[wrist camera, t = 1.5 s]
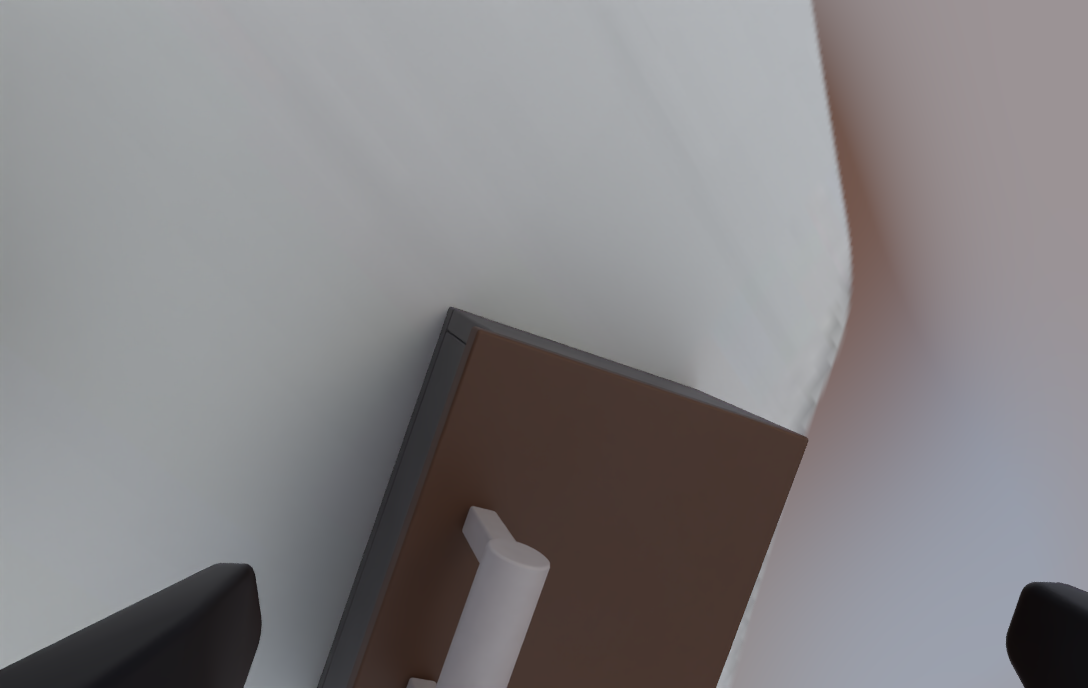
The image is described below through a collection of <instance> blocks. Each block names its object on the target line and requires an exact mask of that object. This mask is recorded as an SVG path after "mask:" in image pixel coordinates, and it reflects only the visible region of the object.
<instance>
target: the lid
mask: <svg viewBox="0 0 1088 688" xmlns="http://www.w3.org/2000/svg"><path fill="white" fill-rule="evenodd" d="M807 443H808V438H807V437H805V436H802V435H800V434H798V433H796V432H793V431H790V430H787V429H784V428H781V427H778V426H775V425H772V424H769V423H766V422H763V421H760V420H757V419H754V418H751V417H748V416H745V415H742V414H739V413H736V412H733V411H730V410H727V409H724V408H721V407H717V406H714V405H711V404H708V403H705V402H702V401H699V400H696V399H693V398H690V397H687V396H684V395H681V394H678V393H675V392H672V391H669V390H666V389H663V388H660V387H657V386H654V385H651V384H648V383H645V382H642V381H639V380H636V379H633V378H630V377H627V376H624V375H621V374H618V373H615V372H612V371H609V370H606V369H603V368H600V367H597V366H594V365H591V364H588V363H585V362H582V361H579V360H576V359H573V358H570V357H567V356H564V355H561V354H558V353H555V352H552V351H549V350H546V349H543V348H540V347H537V346H534V345H531V344H528V343H525V342H522V341H519V340H516V339H513V338H510V337H507V336H504V335H501V334H498V333H495V332H492V331H489V330H485V329H482V328H479V327H476V326H474V327H472V329H471V331H470V334H469V337H468V340H467V343H466V346H465V349H464V352H463V354H462V357H461V360H460V363H459V366H458V369H457V372H456V374H455V377H454V380H453V383H452V386H451V389H450V392H449V394H448V397H447V400H446V403H445V406H444V409H443V412H442V415H441V417H440V420H439V423H438V426H437V429H436V432H435V435H434V437H433V440H432V443H431V446H430V449H429V452H428V455H427V457H426V460H425V463H424V466H423V469H422V472H421V475H420V478H419V480H418V483H417V486H416V489H415V492H414V495H413V498H412V500H411V503H410V506H409V509H408V512H407V515H406V518H405V520H404V523H403V526H402V529H401V532H400V535H399V538H398V541H397V543H396V546H395V549H394V552H393V555H392V558H391V561H390V563H389V566H388V569H387V572H386V575H385V578H384V581H383V583H382V586H381V589H380V592H379V595H378V598H377V601H376V604H375V606H374V609H373V612H372V615H371V618H370V621H369V624H368V626H367V629H366V632H365V635H364V638H363V641H362V644H361V647H360V649H359V652H358V655H357V658H356V661H355V664H354V667H353V669H352V672H351V675H350V678H349V681H348V684H347V687H346V688H716V686H717V683H718V681H719V678H720V675H721V673H722V670H723V667H724V665H725V662H726V659H727V657H728V654H729V651H730V649H731V646H732V643H733V641H734V638H735V635H736V633H737V630H738V627H739V625H740V622H741V619H742V617H743V614H744V611H745V609H746V606H747V603H748V601H749V598H750V595H751V593H752V590H753V587H754V585H755V582H756V579H757V577H758V574H759V571H760V569H761V566H762V563H763V561H764V558H765V555H766V553H767V550H768V547H769V545H770V542H771V539H772V537H773V534H774V531H775V529H776V526H777V523H778V521H779V518H780V515H781V513H782V510H783V507H784V505H785V502H786V499H787V497H788V494H789V491H790V488H791V486H792V483H793V480H794V478H795V475H796V472H797V470H798V467H799V464H800V462H801V459H802V456H803V454H804V451H805V448H806V446H807Z"/></svg>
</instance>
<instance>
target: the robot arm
mask: <svg viewBox="0 0 1088 688" xmlns="http://www.w3.org/2000/svg"><path fill="white" fill-rule="evenodd" d="M261 627H262V620H261V612H260V605H259V598H258V591H257V584H256V577H255V573H254V570H253V568H252V567H251V566H250V565H249V564H239V563H218V564H214V565H212V566H210V567H208V568H206V569H204V570H202V571H200V572H198V573H196V574H194V575H192V576H190V577H188V578H186V579H184V580H182V581H180V582H177V583H175V584H173V585H171V586H169V587H167V588H165V589H163V590H161V591H159V592H157V593H155V594H153V595H151V596H149V597H147V598H145V599H143V600H141V601H139V602H137V603H135V604H133V605H131V606H129V607H127V608H125V609H123V610H121V611H119V612H117V613H115V614H113V615H110V616H108V617H106V618H104V619H102V620H100V621H98V622H96V623H94V624H92V625H90V626H88V627H86V628H84V629H82V630H80V631H78V632H76V633H74V634H72V635H70V636H68V637H66V638H64V639H62V640H60V641H58V642H56V643H54V644H52V645H50V646H48V647H46V648H44V649H41V650H39V651H37V652H35V653H33V654H31V655H29V656H27V657H25V658H23V659H21V660H19V661H17V662H15V663H13V664H11V665H9V666H7V667H5V668H3V669H1V670H0V688H244V685H245V682H246V679H247V676H248V673H249V670H250V667H251V664H252V662H253V659H254V656H255V653H256V650H257V647H258V644H259V640H260V635H261ZM1006 648H1007V653H1008V656H1009V659H1010V661H1011V664H1012V665H1013V667H1014V669H1015V671H1016V673H1017V675H1018V676H1019V678H1020V680H1021V682H1022V684H1023V686H1024V687H1025V688H1088V592H1086V591H1083V590H1080V589H1078V588H1076V587H1073V586H1070V585H1068V584H1063V583H1052V582H1032V583H1029V584H1027V585H1026V586H1025V587H1024V588H1023V590H1022V592H1021V595H1020V597H1019V600H1018V603H1017V606H1016V609H1015V612H1014V615H1013V617H1012V620H1011V623H1010V626H1009V629H1008V632H1007V636H1006Z"/></svg>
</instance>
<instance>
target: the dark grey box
mask: <svg viewBox="0 0 1088 688" xmlns="http://www.w3.org/2000/svg"><path fill="white" fill-rule="evenodd" d="M474 326H476V327H479V328H482V329H485V330H489V331H492V332H495V333H498V334H501V335H504V336H507V337H510V338H513V339H516V340H519V341H522V342H525V343H528V344H531V345H534V346H537V347H540V348H543V349H546V350H549V351H552V352H555V353H558V354H561V355H564V356H567V357H570V358H573V359H576V360H579V361H582V362H585V363H588V364H591V365H594V366H597V367H600V368H603V369H606V370H609V371H612V372H615V373H618V374H621V375H624V376H627V377H630V378H633V379H636V380H639V381H642V382H645V383H648V384H651V385H654V386H657V387H660V388H663V389H666V390H669V391H672V392H675V393H678V394H681V395H684V396H687V397H690V398H693V399H696V400H699V401H702V402H705V403H708V404H711V405H714V406H717V407H721V408H724V409H727V410H730V411H733V412H736V413H739V414H742V415H745V416H748V417H751V418H754V419H757V420H760V421H763V422H766V423H769V424H772V425H775V426H778V427H781V428H784V427H782V426H780V425H777V424H775V423H773V422H770V421H768V420H766V419H763V418H761V417H759V416H757V415H754V414H752V413H750V412H747V411H745V410H743V409H740V408H738V407H736V406H734V405H731V404H729V403H727V402H724V401H722V400H720V399H717V398H715V397H713V396H711V395H708V394H706V393H704V392H701V391H699V390H697V389H694V388H691V387H688V386H685V385H682V384H679V383H676V382H673V381H670V380H667V379H664V378H661V377H658V376H655V375H652V374H649V373H646V372H644V371H641V370H638V369H635V368H632V367H629V366H626V365H623V364H620V363H617V362H614V361H611V360H608V359H605V358H602V357H599V356H596V355H593V354H590V353H587V352H584V351H581V350H578V349H575V348H572V347H569V346H566V345H563V344H560V343H558V342H555V341H552V340H549V339H546V338H543V337H540V336H537V335H534V334H531V333H528V332H525V331H522V330H519V329H516V328H513V327H510V326H507V325H504V324H501V323H498V322H495V321H492V320H489V319H486V318H483V317H480V316H477V315H474V314H472V313H469V312H466V311H463V310H460V309H457V308H454V307H450V308H449V310H448V313H447V316H446V319H445V321H444V324H443V327H442V330H441V333H440V336H439V339H438V342H437V344H436V347H435V350H434V353H433V356H432V359H431V362H430V365H429V368H428V370H427V373H426V376H425V379H424V382H423V385H422V388H421V391H420V393H419V396H418V399H417V402H416V405H415V408H414V411H413V414H412V416H411V419H410V422H409V425H408V428H407V431H406V434H405V437H404V440H403V442H402V445H401V448H400V451H399V454H398V457H397V460H396V463H395V465H394V468H393V471H392V474H391V477H390V480H389V483H388V486H387V488H386V491H385V494H384V497H383V500H382V503H381V506H380V509H379V512H378V514H377V517H376V520H375V523H374V526H373V529H372V532H371V535H370V537H369V540H368V543H367V546H366V549H365V552H364V555H363V558H362V561H361V563H360V566H359V569H358V572H357V575H356V578H355V581H354V584H353V586H352V589H351V592H350V595H349V598H348V601H347V604H346V607H345V609H344V612H343V615H342V618H341V621H340V624H339V627H338V630H337V633H336V635H335V638H334V641H333V644H332V647H331V650H330V653H329V656H328V658H327V661H326V664H325V667H324V670H323V673H322V676H321V679H320V681H319V684H318V687H317V688H346V687H347V684H348V681H349V678H350V675H351V672H352V669H353V667H354V664H355V661H356V658H357V655H358V652H359V649H360V647H361V644H362V641H363V638H364V635H365V632H366V629H367V626H368V624H369V621H370V618H371V615H372V612H373V609H374V606H375V604H376V601H377V598H378V595H379V592H380V589H381V586H382V583H383V581H384V578H385V575H386V572H387V569H388V566H389V563H390V561H391V558H392V555H393V552H394V549H395V546H396V543H397V541H398V538H399V535H400V532H401V529H402V526H403V523H404V520H405V518H406V515H407V512H408V509H409V506H410V503H411V500H412V498H413V495H414V492H415V489H416V486H417V483H418V480H419V478H420V475H421V472H422V469H423V466H424V463H425V460H426V457H427V455H428V452H429V449H430V446H431V443H432V440H433V437H434V435H435V432H436V429H437V426H438V423H439V420H440V417H441V415H442V412H443V409H444V406H445V403H446V400H447V397H448V394H449V392H450V389H451V386H452V383H453V380H454V377H455V374H456V372H457V369H458V366H459V363H460V360H461V357H462V354H463V352H464V349H465V346H466V343H467V340H468V337H469V334H470V331H471V329H472V327H474ZM784 429H786V428H784ZM787 430H789V429H787ZM790 431H791V430H790Z"/></svg>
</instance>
